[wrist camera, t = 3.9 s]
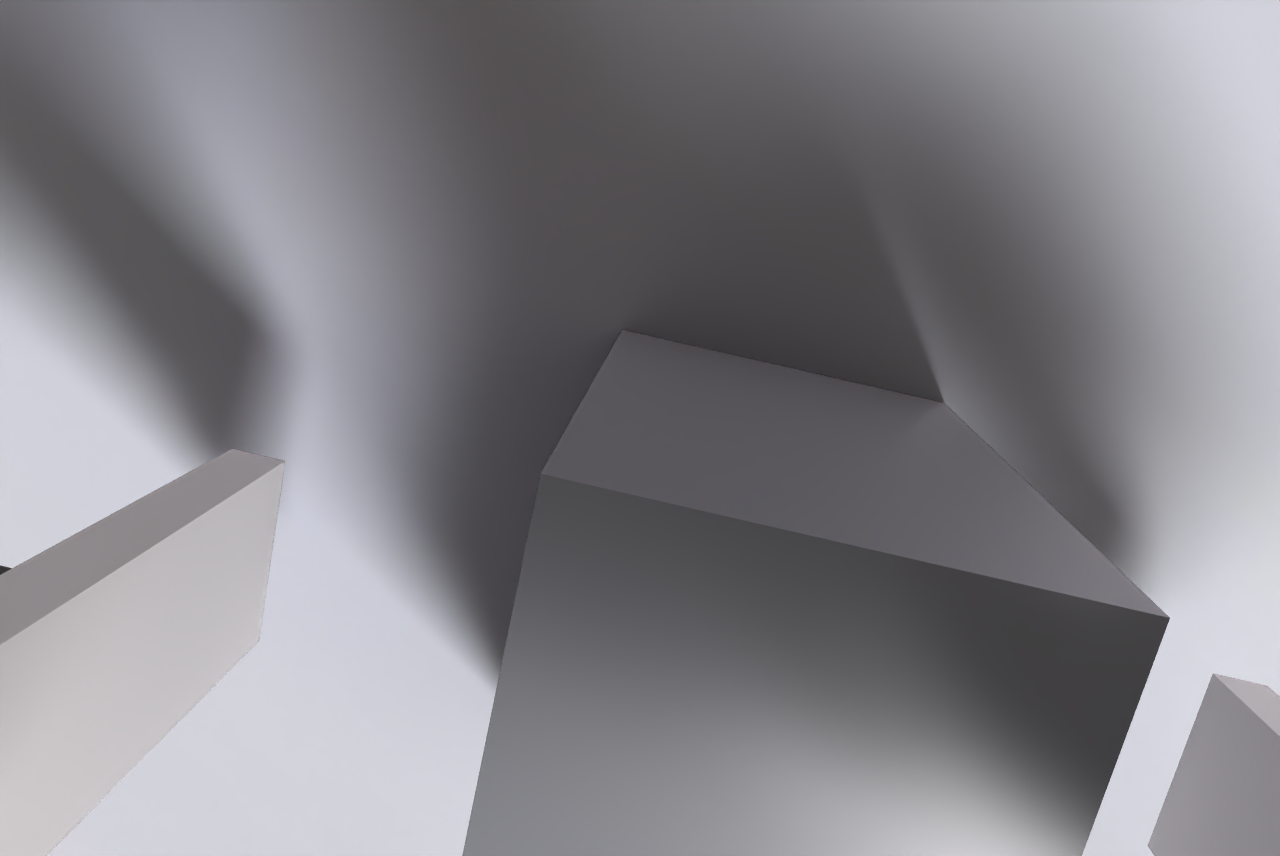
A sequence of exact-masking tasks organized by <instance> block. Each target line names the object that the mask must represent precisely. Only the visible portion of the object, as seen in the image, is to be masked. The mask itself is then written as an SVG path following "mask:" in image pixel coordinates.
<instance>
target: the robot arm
mask: <svg viewBox="0 0 1280 856" xmlns="http://www.w3.org/2000/svg"><path fill="white" fill-rule="evenodd" d="M284 467H285V461H283V460H279V459H274V458H270V457H266V456H261V455H257V454H253V453H248V452H244V451H239V450H235V449H230V450H229V451H227V452H225V453H223V454H221V455H219V456H218V457H216V458H214V459H212V460H210V461H208V462H206V463H205V464H203V465H201V466H199V467H197V468H195V469H194V470H192V471H190V472H188V473H186V474H184V475H183V476H181V477H179V478H177V479H175V480H173V481H172V482H170V483H168V484H166V485H164V486H162V487H161V488H159V489H157V490H155V491H153V492H151V493H150V494H148V495H146V496H144V497H142V498H140V499H139V500H137V501H135V502H133V503H131V504H129V505H128V506H126V507H124V508H122V509H120V510H118V511H117V512H115V513H113V514H111V515H109V516H107V517H106V518H104V519H102V520H100V521H98V522H96V523H95V524H93V525H91V526H89V527H87V528H85V529H84V530H82V531H80V532H78V533H76V534H74V535H73V536H71V537H69V538H67V539H65V540H63V541H62V542H60V543H58V544H56V545H54V546H52V547H51V548H49V549H47V550H45V551H43V552H41V553H40V554H38V555H36V556H34V557H32V558H30V559H29V560H27V561H25V562H23V563H21V564H19V565H18V566H16V567H14V568H8V567H4V566H0V856H47V855H48V854H49V853H50V852H51V851H52V850H53V849H54V848H55V847H56V846H57V845H58V844H59V843H60V842H61V841H62V840H63V839H64V838H65V837H66V836H67V835H68V834H69V833H70V832H71V831H72V830H73V829H74V828H75V827H76V826H77V825H78V824H79V823H80V822H81V820H82V819H83V818H84V817H85V816H86V815H87V814H88V813H89V812H90V811H91V810H92V809H93V808H94V807H95V806H96V805H97V804H98V803H99V802H100V801H101V800H102V799H103V798H104V797H105V796H106V795H107V794H108V793H109V792H110V791H111V790H112V789H113V788H114V787H115V786H116V785H117V784H118V783H119V782H120V781H121V780H122V779H123V778H124V777H125V776H126V775H127V774H128V773H129V772H130V771H131V770H132V769H133V768H134V767H135V766H136V765H137V764H138V763H139V762H140V761H141V760H142V759H143V758H144V757H145V756H146V755H147V754H148V753H149V752H150V751H151V750H152V749H153V748H154V747H155V746H156V745H157V744H158V743H159V742H160V741H161V740H162V739H163V738H164V737H165V736H166V735H167V734H168V732H169V731H170V730H171V729H172V728H173V727H174V726H175V725H176V724H177V723H178V722H179V721H180V720H181V719H182V718H183V717H184V716H185V715H186V714H187V713H188V712H189V711H190V710H191V709H192V708H193V707H194V706H195V705H196V704H197V703H198V702H199V701H200V700H201V699H202V698H203V697H204V696H205V695H206V694H207V693H208V692H209V691H210V690H211V689H212V688H213V687H214V686H215V685H216V684H217V683H218V682H219V681H220V680H221V679H222V678H223V677H224V676H225V675H226V674H227V673H228V672H229V671H230V670H231V669H232V668H233V667H234V666H235V665H236V664H237V663H238V662H239V661H240V660H241V659H242V658H243V657H244V656H245V655H246V654H247V653H248V652H249V651H250V650H251V649H252V648H253V647H254V646H255V644H256V643H257V642H258V641H259V639H260V632H261V625H262V618H263V611H264V605H265V598H266V591H267V584H268V577H269V570H270V563H271V557H272V550H273V543H274V536H275V529H276V522H277V515H278V509H279V502H280V495H281V488H282V481H283V474H284ZM1148 847H1149V848H1150V850H1151V851H1152V853H1153V854H1154V856H1280V696H1278V695H1277V694H1276V693H1275V692H1274V691H1273V690H1272V689H1270V688H1269V687H1268V686H1266V685H1261V684H1257V683H1252V682H1248V681H1244V680H1239V679H1235V678H1231V677H1226V676H1222V675H1218V674H1213V675H1212V677H1211V680H1210V683H1209V685H1208V688H1207V690H1206V693H1205V696H1204V698H1203V701H1202V704H1201V706H1200V709H1199V712H1198V714H1197V717H1196V720H1195V722H1194V725H1193V727H1192V730H1191V733H1190V735H1189V738H1188V741H1187V743H1186V746H1185V749H1184V751H1183V754H1182V756H1181V759H1180V762H1179V764H1178V767H1177V770H1176V772H1175V775H1174V778H1173V780H1172V783H1171V786H1170V788H1169V791H1168V793H1167V796H1166V799H1165V801H1164V804H1163V807H1162V809H1161V812H1160V815H1159V817H1158V820H1157V823H1156V825H1155V828H1154V830H1153V833H1152V836H1151V838H1150V841H1149V844H1148Z"/></svg>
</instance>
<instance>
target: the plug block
mask: <svg viewBox="0 0 1280 856" xmlns="http://www.w3.org/2000/svg"><path fill="white" fill-rule="evenodd" d="M1169 619H1170V618H1169V617H1168V616H1167V615H1166V614H1165V613H1164V612H1163V611H1162V610H1161V609H1160V608H1159V607H1158V606H1157V605H1156V604H1155V603H1154V602H1153V601H1152V600H1151V599H1149V598H1148V597H1147V596H1146V595H1145V594H1144V593H1143V592H1142V591H1141V590H1140V589H1139V588H1138V587H1137V586H1136V585H1135V584H1134V583H1133V582H1132V581H1131V580H1130V579H1128V578H1127V577H1126V576H1125V575H1124V574H1123V573H1122V572H1121V571H1120V570H1119V569H1118V568H1117V567H1116V566H1115V565H1114V564H1113V563H1112V562H1111V561H1110V560H1109V559H1107V558H1106V557H1105V556H1104V555H1103V554H1102V553H1101V552H1100V551H1099V550H1098V549H1097V548H1096V547H1095V546H1094V545H1093V544H1092V543H1091V542H1090V541H1089V540H1088V539H1086V538H1085V537H1084V536H1083V535H1082V534H1081V533H1080V532H1079V531H1078V530H1077V529H1076V528H1075V527H1074V526H1073V525H1072V524H1071V523H1070V522H1069V521H1068V520H1067V519H1065V518H1064V517H1063V516H1062V515H1061V514H1060V513H1059V512H1058V511H1057V510H1056V509H1055V508H1054V507H1053V506H1052V505H1051V504H1050V503H1049V502H1048V501H1047V500H1046V499H1044V498H1043V497H1042V496H1041V495H1040V494H1039V493H1038V492H1037V491H1036V490H1035V489H1034V488H1033V487H1032V486H1031V485H1030V484H1029V483H1028V482H1027V481H1026V480H1025V479H1023V478H1022V477H1021V476H1020V475H1019V474H1018V473H1017V472H1016V471H1015V470H1014V469H1013V468H1012V467H1011V466H1010V465H1009V464H1008V463H1007V462H1006V461H1005V460H1004V459H1002V458H1001V457H1000V456H999V455H998V454H997V453H996V452H995V451H994V450H993V449H992V448H991V447H990V446H989V445H988V444H987V443H986V442H985V441H984V440H983V439H982V438H980V437H979V436H978V435H977V434H976V433H975V432H974V431H973V430H972V429H971V428H970V427H969V426H968V425H967V424H966V423H965V422H964V421H963V420H962V419H961V418H959V417H958V416H957V415H956V414H955V413H954V412H953V411H952V410H951V409H950V408H949V407H948V406H947V405H946V404H945V403H942V402H938V401H933V400H929V399H925V398H920V397H916V396H911V395H907V394H903V393H898V392H894V391H889V390H885V389H881V388H876V387H872V386H867V385H863V384H859V383H854V382H850V381H845V380H841V379H837V378H832V377H828V376H823V375H819V374H815V373H810V372H806V371H801V370H797V369H793V368H788V367H784V366H780V365H775V364H771V363H766V362H762V361H758V360H753V359H749V358H744V357H740V356H736V355H731V354H727V353H722V352H718V351H714V350H709V349H705V348H700V347H696V346H692V345H687V344H683V343H678V342H674V341H670V340H665V339H661V338H656V337H652V336H648V335H643V334H639V333H635V332H630V331H626V330H622V331H621V333H620V334H619V336H618V338H617V340H616V342H615V343H614V345H613V347H612V349H611V350H610V352H609V354H608V356H607V357H606V359H605V361H604V363H603V364H602V366H601V368H600V370H599V371H598V373H597V375H596V377H595V378H594V380H593V382H592V384H591V385H590V387H589V389H588V391H587V393H586V394H585V396H584V398H583V400H582V401H581V403H580V405H579V407H578V408H577V410H576V412H575V414H574V415H573V417H572V419H571V421H570V422H569V424H568V426H567V428H566V429H565V431H564V433H563V435H562V436H561V438H560V440H559V442H558V443H557V445H556V447H555V449H554V451H553V452H552V454H551V456H550V458H549V459H548V461H547V463H546V465H545V466H544V468H543V470H542V472H541V473H540V478H539V483H538V488H537V492H536V497H535V502H534V507H533V512H532V517H531V522H530V527H529V532H528V537H527V542H526V546H525V551H524V556H523V561H522V566H521V571H520V576H519V581H518V586H517V591H516V595H515V600H514V605H513V610H512V615H511V620H510V625H509V630H508V635H507V640H506V645H505V649H504V654H503V659H502V664H501V669H500V674H499V679H498V684H497V689H496V694H495V699H494V703H493V708H492V713H491V718H490V723H489V728H488V733H487V738H486V743H485V748H484V752H483V757H482V762H481V767H480V772H479V777H478V782H477V787H476V792H475V797H474V802H473V806H472V811H471V816H470V821H469V826H468V831H467V836H466V841H465V846H464V851H463V856H1082V853H1083V851H1084V848H1085V845H1086V843H1087V840H1088V837H1089V835H1090V832H1091V829H1092V826H1093V824H1094V821H1095V818H1096V816H1097V813H1098V810H1099V808H1100V805H1101V802H1102V800H1103V797H1104V794H1105V791H1106V789H1107V786H1108V783H1109V781H1110V778H1111V775H1112V773H1113V770H1114V767H1115V765H1116V762H1117V759H1118V756H1119V754H1120V751H1121V748H1122V746H1123V743H1124V740H1125V738H1126V735H1127V732H1128V730H1129V727H1130V724H1131V721H1132V719H1133V716H1134V713H1135V711H1136V708H1137V705H1138V703H1139V700H1140V697H1141V695H1142V692H1143V689H1144V686H1145V684H1146V681H1147V678H1148V676H1149V673H1150V670H1151V668H1152V665H1153V662H1154V660H1155V657H1156V654H1157V651H1158V649H1159V646H1160V643H1161V641H1162V638H1163V635H1164V633H1165V630H1166V627H1167V625H1168V622H1169Z"/></svg>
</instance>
